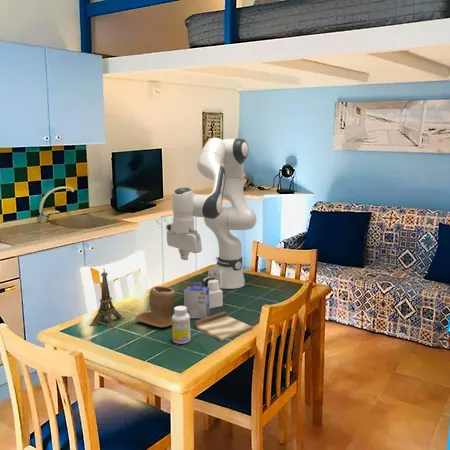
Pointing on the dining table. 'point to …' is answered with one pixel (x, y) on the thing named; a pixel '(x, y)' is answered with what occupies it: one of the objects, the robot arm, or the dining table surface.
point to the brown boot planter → (159, 307)
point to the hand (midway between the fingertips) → (184, 259)
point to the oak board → (221, 326)
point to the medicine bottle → (214, 293)
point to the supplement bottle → (181, 325)
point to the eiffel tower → (106, 306)
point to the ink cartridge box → (197, 301)
